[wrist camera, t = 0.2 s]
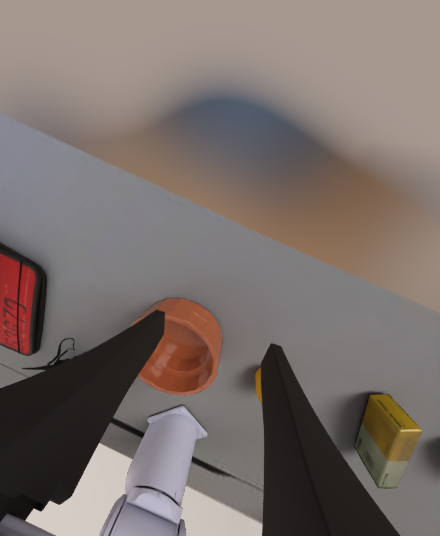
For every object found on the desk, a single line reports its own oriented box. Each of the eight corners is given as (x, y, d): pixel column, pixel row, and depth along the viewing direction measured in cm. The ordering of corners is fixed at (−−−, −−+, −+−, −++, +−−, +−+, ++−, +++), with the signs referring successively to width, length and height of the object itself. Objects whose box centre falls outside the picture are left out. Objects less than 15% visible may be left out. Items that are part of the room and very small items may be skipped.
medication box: (371, 448, 24) (398, 490, 21) (353, 447, 25) (376, 489, 21) (389, 393, 21) (425, 432, 17) (368, 393, 21) (399, 431, 17)
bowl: (177, 375, 26) (164, 405, 22) (129, 319, 25) (105, 340, 20) (239, 348, 23) (238, 378, 19) (189, 280, 21) (174, 296, 17)
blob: (263, 389, 24) (267, 422, 20) (247, 367, 24) (247, 396, 20) (288, 381, 23) (298, 414, 19) (272, 357, 23) (277, 386, 19)
